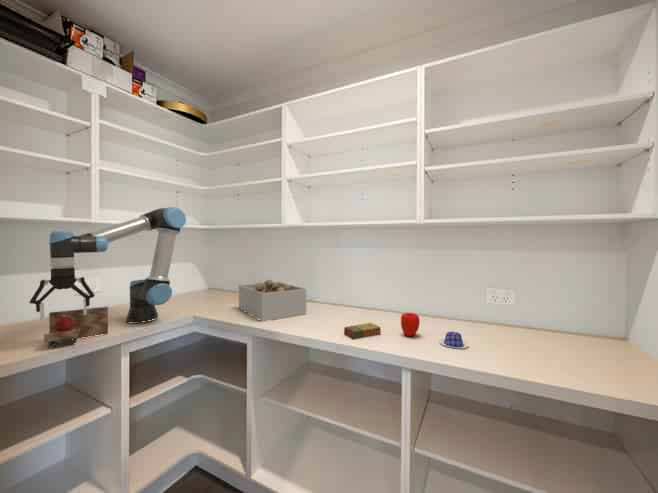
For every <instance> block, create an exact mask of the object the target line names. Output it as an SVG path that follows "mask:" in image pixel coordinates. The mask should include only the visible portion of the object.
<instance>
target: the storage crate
mask: <svg viewBox="0 0 658 493" xmlns="http://www.w3.org/2000/svg"><path fill="white" fill-rule="evenodd" d="M275 282H276V283H277V284H278V286H279V287H282V288H283V287H284V285H286V284H287V285H290V287H291V290H288V291H278V292H277V289H276V292H269V293H265V290H266V289H265V288H266V286H265V284H264V286H265V288H264V290H262V292H263V293H262V292H259V291H257V290H256V289H255V285H256V284H257V283H250V284H249V283H247V284H239V285H238V309H239V308H240V309H242V310H243V311H245V312H247V313H249V314H251V315H253V316H254V317H256V318H258V319H260V320H261V321H265V322H268V321H267V320H271V321H275V320H274V319H277V320H282V319H281V318H283V319H288V318H287V317H289V318H293V317H294V316H295V317H299V316H300V315H301V316H305V315H307V288H305V287H300V286H296V285H292V284H288V283H285V282H280V281H275ZM271 290H272V288H271ZM240 309H239V310H240ZM243 311H242V312H243ZM245 312H244V313H245ZM247 313H246V314H247ZM249 314H248V315H249ZM254 317H253V318H254ZM256 318H255V319H256ZM258 319H257V320H258ZM261 321H260V322H261Z"/></svg>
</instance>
